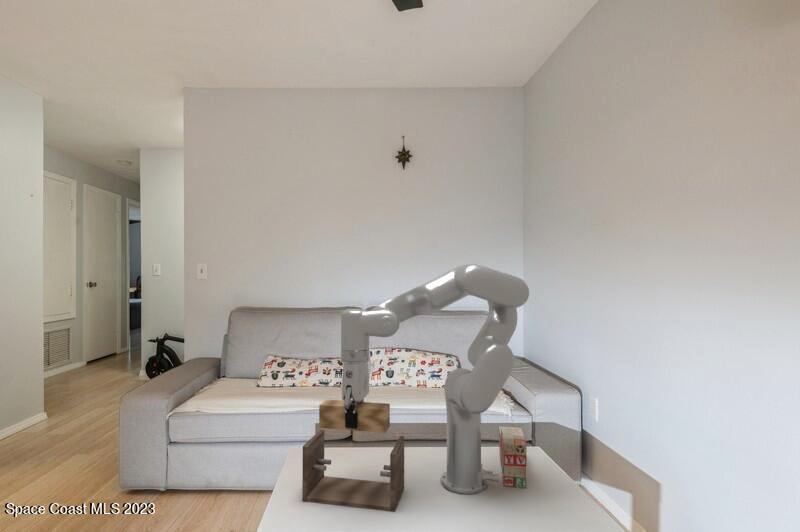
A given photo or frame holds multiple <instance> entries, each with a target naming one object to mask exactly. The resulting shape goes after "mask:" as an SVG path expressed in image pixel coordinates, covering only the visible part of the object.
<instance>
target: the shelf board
mask: <svg viewBox="0 0 800 532" xmlns="http://www.w3.org/2000/svg"><path fill="white" fill-rule="evenodd" d="M351 405H353V407H354V403H351ZM390 409H391V404H390V403H383V402H368V401H364V402H357V409H356V413H358V427H357V428H356V429H353V428H346V427H345V406H344V400H335V399H325V400H324V401H322V402H321V403H320V404H319V405H318V411H319V413H318V415H319V416H318V417H319V418H318V420H319V421H318V423H319V424H318V427H319V429H329V430H342V431H356V432H366V433H379V434H386V433H387V431H388V430H389V428H390V426H391V424H390V423H391V422H390V419H391V417H390V415H391V410H390Z"/></svg>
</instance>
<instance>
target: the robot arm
mask: <svg viewBox="0 0 800 532" xmlns="http://www.w3.org/2000/svg"><path fill="white" fill-rule="evenodd" d="M467 296H473V297H475V298H476V297H477V298H479V299H481V300H484V301H487V305H488V306H487V307H488V314H487V316H486V317H487V318H486V319H485V321H484V323H483V324H482V327H481V328H480V330H479V331H478V333H477V335H476V336H475V337H474V339H473V341H472V342H471V344H470V346H469V348H468V350H467V360H468V362H469V364H470V365H472V367H473V368H472V370H470V369H469V368H463V367H459V368H456V369H453V370H452V371H450V372H449V373H448V374H447V376H446V379H445V381H444V399H445V407H446V410H445V411H446V471H445V472H444V473H443V474H442V475H441V478H440V480H441V481H440V482H441V485H442V486H443V487H444V488H445V489H447V490H448V491H451V492H453V493H458V494H461V495H462V494H463V495H464V494H466V495H470V494H471V495H472V494H477V493H480V492H482V491H484V490H485V489H486V488H487V486H488V481H489V482H494V483H499V482H498V481H499V480H498V479H499V474H498V473H494V470H490V469H489V470H485V468H483V463H482V415H481V414H483V413H485V412H486V411H487V410H489V408H490V407H491V406H492V405H493V404H494V402H495V400H496V399H497V397H498V396H499V394H500V393H501V391H502V390H503V387H504V386H505V384H506V382H507V381H508V379H509V378H510V375H512V374H511V373H513V372H512V371H513V368H514V366H515V365H514V363H515V357H514V353H513V351H512V349H511V348H510V346H508V344H509V343H510V341H511V339H512V337H513V335H514V333H515V331H516V329H517V326H518V310H517V309H518V308H520V307H522V306H524V305H525V304H526V303H527V301H528V299H529V296H530V287H529V285H528V284H527V283H526V282H525V280H523V279H522V278H520V277H519V276H515V275H512V274H509V273H506V272H503V271H499V270H495V269H493V268H490V267H487V266H484V265H481V264H475V263H472V264H470V263H469V264H462V265H458V266H456V267H454V268H453V269H451V270H448V271H446V272H444V273H443V274H441V275H438V276H437V277H435V278H433V279H430V280H429V281H427V282H425V283H422V284H421V285H419V286H416V287H413V288H412V289H410V290H408V291H406V292H403V293H401V294H399V295H396V296H395V297H393V298H390V299H388V300H387V301H384V302H382V303H381V304H379V305H376V306H375V307H373V308H372V309H371V310H367V309H364V308H363V309H362V308H347V309H345V310H343V311H342V313H341V315H340V321H341V322H340V330H341V331H340V362H341V363H342V365H343V366H342V367H343V368H342V376H341V379H342V380H341V400H342V401H344V406H345V427H346V428H353V429H356V428H357V427H358V413H356V409H357V402H365V398H366V397H367V396H368V395H369V393H370V374H369V362H370V337H377V338H390V337H392V336H394V335H395V334H397V332H398V330H399V329H400V324H401V323H402V322H405V321H406V320H409V319H412V318H414V317H418V316H424V315H425V316H426V315H430V314H434V313H437V312H440V311H441V310H443V309H444V308H446V307H448V306H450V305H452V304H454V303H456V302H458V301H460V300H462V299H464V298H467ZM351 403H354V407H353V405H351Z"/></svg>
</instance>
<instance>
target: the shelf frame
mask: <svg viewBox="0 0 800 532" xmlns="http://www.w3.org/2000/svg"><path fill="white" fill-rule="evenodd" d="M389 455H390V456H389V458H390V459H389V465H387V464H384V465H383V467H382V468H383V470H380V473H379V477H387V478H389V482H386V481H377V480H367V479H355V478H345V477H337V476H335V477H334V476H328V475H327V476H326V475H325V471H327V467H328V466H327V465H329V466H330V465H332V459H325V429H320V430H319V431H318V432H317V433H315V435H313V436H312V437H311V438H310V439H309V440H308V441H307V442H306V443H305V444H303V445H302V480H301V482H302V489H301V490H302V491H301V492H302V498H301V499H302V500H301V501H302V502H307V503H316V504H325V505H334V506H340V507H341V506H342V507H349V508H351V507H352V508H358V509H359V508H360V509H369V510H376V511H377V510H378V511H386V512H396V510H397V507H398V505H399V503H400V500H401V498H402V495H403V492H404V490H405V436H404V435H402V436H401V435H400V436H399V437H398V439H397V441H396V442H395V445H394V447H393V449H392V450H391V452H390V454H389Z"/></svg>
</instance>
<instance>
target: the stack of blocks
mask: <svg viewBox="0 0 800 532" xmlns="http://www.w3.org/2000/svg"><path fill="white" fill-rule="evenodd" d="M498 438H499V439H498V441H499V442H498V445H499V462H500V469H501V474H502V476H501V477H502V486H503V487H506V488H518V489H519V488H520V489H527V465H528V464H527V458H528V457H527V452H528V451H527V446H528V445H527V442H526V441H527V440H526V438H525V434H524V432H523V430H522V428H521V427H516V426H515V427H514V426H513V427H512V426H498Z"/></svg>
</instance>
